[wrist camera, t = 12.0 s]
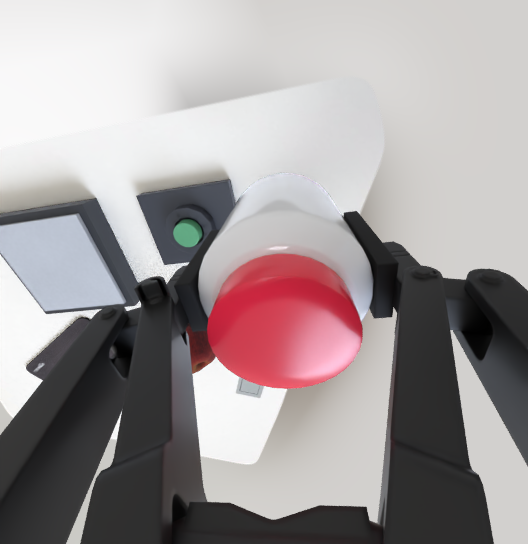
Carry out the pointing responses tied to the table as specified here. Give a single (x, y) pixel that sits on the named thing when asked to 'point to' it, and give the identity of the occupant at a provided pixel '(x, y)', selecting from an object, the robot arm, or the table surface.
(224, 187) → the button base
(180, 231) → the green button
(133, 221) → the table surface
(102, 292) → the scale
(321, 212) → the pill bottle
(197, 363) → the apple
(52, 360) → the mouse pad
